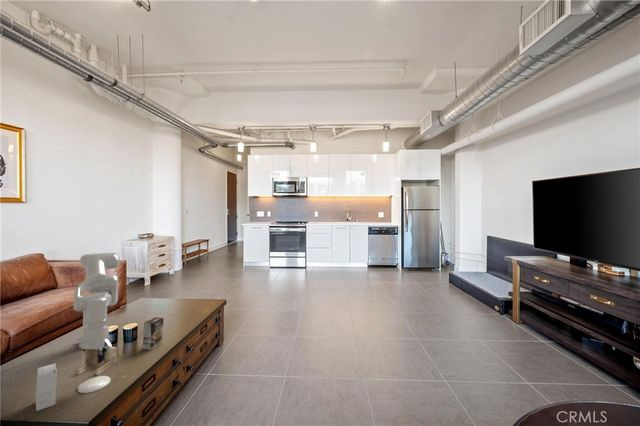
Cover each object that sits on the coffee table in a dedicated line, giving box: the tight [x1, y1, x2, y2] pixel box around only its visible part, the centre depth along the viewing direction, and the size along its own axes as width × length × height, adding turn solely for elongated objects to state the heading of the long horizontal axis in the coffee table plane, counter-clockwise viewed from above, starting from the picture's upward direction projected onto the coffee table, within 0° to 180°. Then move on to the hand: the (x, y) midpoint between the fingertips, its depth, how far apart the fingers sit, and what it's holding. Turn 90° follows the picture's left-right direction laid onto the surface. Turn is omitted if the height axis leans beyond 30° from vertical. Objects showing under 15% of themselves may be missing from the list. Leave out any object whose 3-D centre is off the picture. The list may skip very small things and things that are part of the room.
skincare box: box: [34, 363, 59, 412], centre depth 115 cm, size 8×6×15 cm
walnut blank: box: [84, 349, 106, 371], centre depth 128 cm, size 5×5×9 cm
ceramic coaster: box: [77, 375, 111, 394], centre depth 128 cm, size 12×12×1 cm
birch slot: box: [77, 346, 118, 376], centre depth 142 cm, size 10×12×8 cm
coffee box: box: [142, 316, 164, 351], centre depth 166 cm, size 9×6×16 cm
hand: (95, 361), depth 128 cm, fingers closed on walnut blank, 5 cm apart
